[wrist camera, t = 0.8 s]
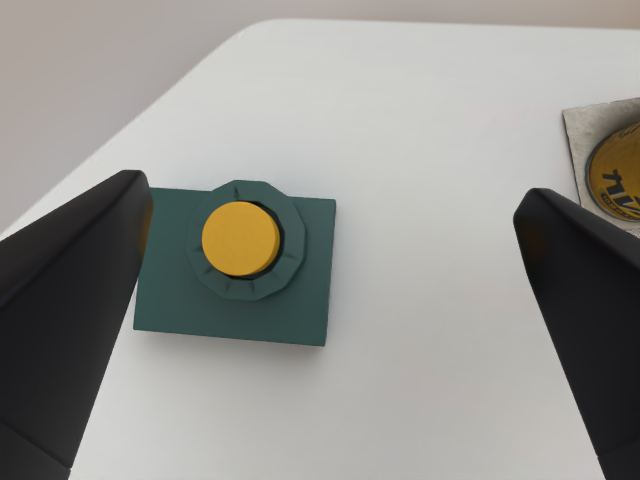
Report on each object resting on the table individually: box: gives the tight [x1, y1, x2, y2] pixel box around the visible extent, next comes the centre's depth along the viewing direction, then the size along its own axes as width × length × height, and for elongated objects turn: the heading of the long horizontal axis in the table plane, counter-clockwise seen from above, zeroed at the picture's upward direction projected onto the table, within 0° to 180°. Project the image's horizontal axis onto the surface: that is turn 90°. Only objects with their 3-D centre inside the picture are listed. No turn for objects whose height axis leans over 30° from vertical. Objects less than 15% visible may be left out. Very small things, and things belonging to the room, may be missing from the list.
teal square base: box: [133, 180, 336, 346], centre depth 23 cm, size 10×12×4 cm
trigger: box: [202, 202, 280, 276], centre depth 21 cm, size 4×4×2 cm
